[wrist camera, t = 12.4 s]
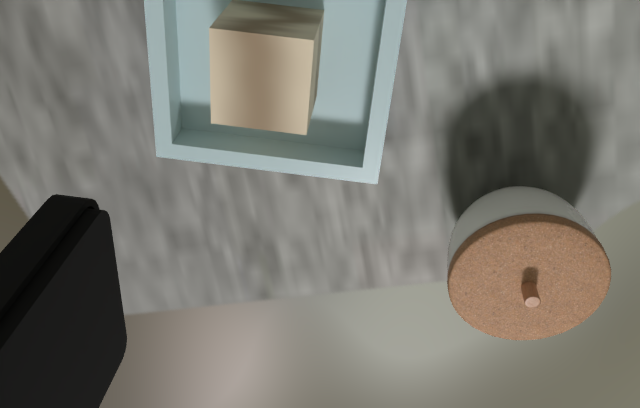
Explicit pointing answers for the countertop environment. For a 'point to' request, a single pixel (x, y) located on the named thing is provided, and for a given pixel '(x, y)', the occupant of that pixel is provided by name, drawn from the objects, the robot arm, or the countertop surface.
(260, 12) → the birch block
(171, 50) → the teal tray
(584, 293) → the lidded jar
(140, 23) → the countertop surface
